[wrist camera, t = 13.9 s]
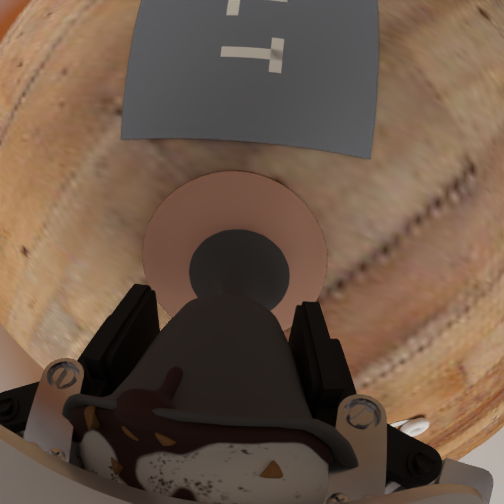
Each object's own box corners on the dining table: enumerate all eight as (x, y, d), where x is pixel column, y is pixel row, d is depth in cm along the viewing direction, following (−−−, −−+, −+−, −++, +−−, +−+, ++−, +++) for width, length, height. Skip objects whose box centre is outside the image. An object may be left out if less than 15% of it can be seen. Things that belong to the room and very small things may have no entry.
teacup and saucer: (427, 404, 22) (439, 431, 18) (421, 432, 25) (430, 456, 21) (352, 434, 23) (359, 464, 19) (358, 457, 26) (364, 482, 22)
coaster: (146, 166, 13) (140, 168, 13) (338, 182, 14) (342, 184, 13) (154, 323, 17) (150, 331, 16) (306, 339, 17) (307, 347, 17)
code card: (157, -46, 8) (155, -47, 8) (373, -31, 8) (374, -33, 8) (122, 139, 13) (120, 139, 13) (368, 159, 13) (370, 159, 13)
